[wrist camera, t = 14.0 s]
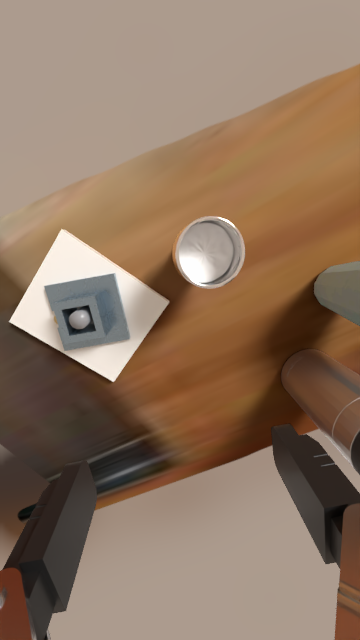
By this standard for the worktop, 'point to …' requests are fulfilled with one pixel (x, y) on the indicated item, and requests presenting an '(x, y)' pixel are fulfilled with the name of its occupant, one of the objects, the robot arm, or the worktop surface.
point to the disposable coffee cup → (340, 290)
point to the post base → (80, 268)
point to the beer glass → (208, 252)
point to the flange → (102, 304)
